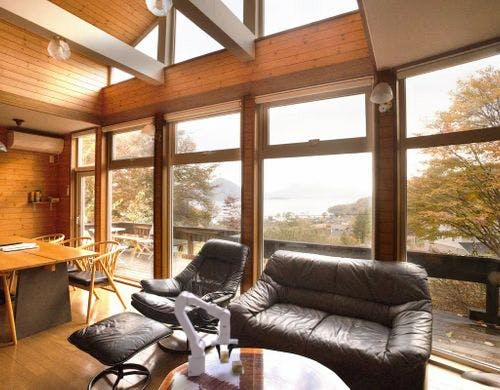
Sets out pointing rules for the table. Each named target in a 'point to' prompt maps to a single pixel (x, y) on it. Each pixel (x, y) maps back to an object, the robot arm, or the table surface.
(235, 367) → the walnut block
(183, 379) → the table surface
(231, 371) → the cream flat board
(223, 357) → the maple cube
